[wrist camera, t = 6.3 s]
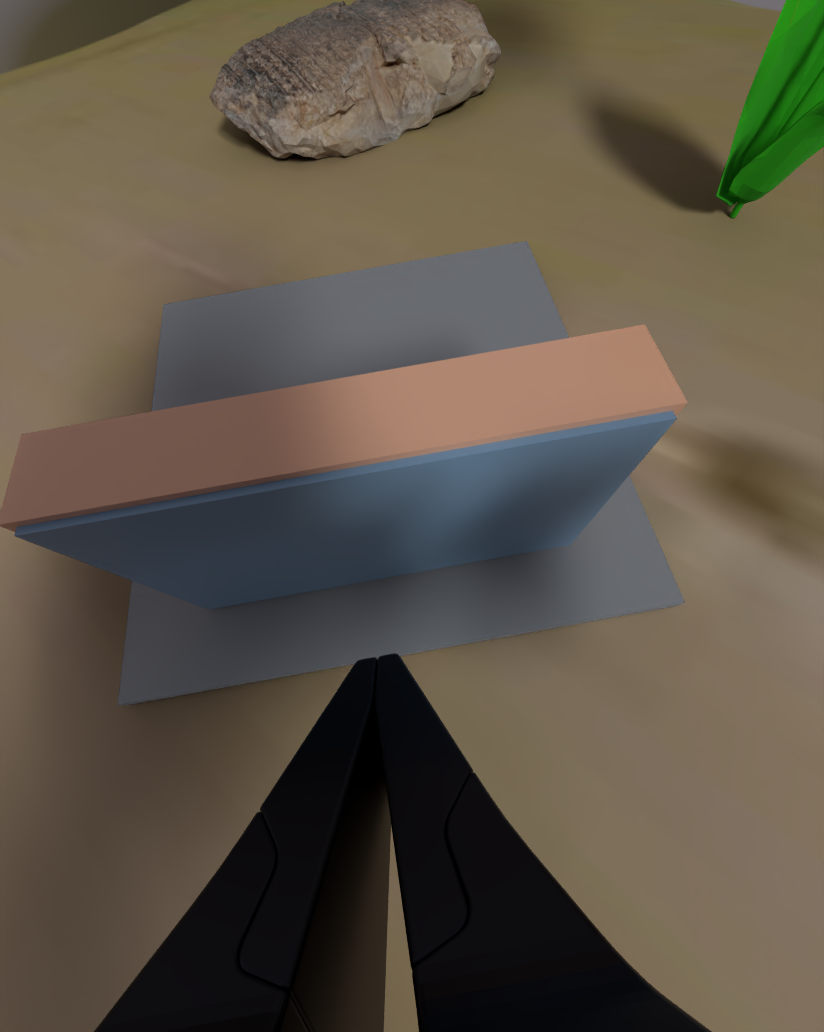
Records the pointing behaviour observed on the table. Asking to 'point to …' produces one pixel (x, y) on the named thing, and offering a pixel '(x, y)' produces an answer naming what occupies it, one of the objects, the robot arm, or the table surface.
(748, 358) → the table surface
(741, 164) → the flower
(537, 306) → the mat
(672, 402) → the tile
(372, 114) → the clay tablet
